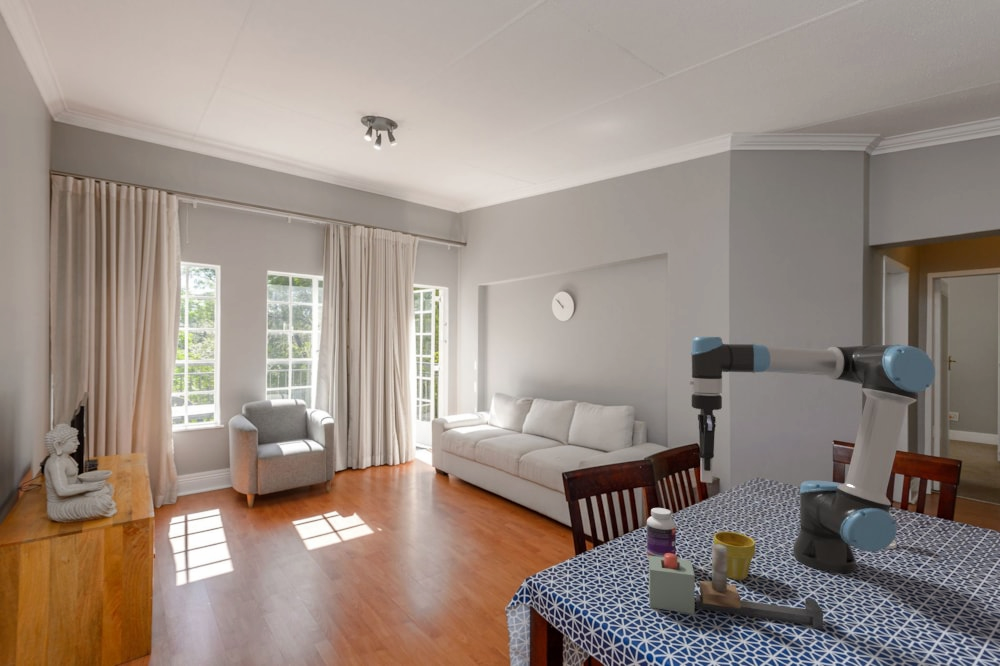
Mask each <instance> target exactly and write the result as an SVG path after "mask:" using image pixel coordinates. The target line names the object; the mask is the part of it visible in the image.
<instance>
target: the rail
mask: <svg viewBox="0 0 1000 666" xmlns="http://www.w3.org/2000/svg"><path fill="white" fill-rule="evenodd" d="M804 600H805V601H804V605H805V607H804V608H801V607H800V608H798V607H791V606H784V605H777V604H770V603H763V602H755V601H748V600H741V599H740V608H734V607H726V606H719V605H712V604H705V603H703V601H702V597H701V594H697V593H696V594H695V604H696V607H697V610H703V611H708V612H717V613H723V614H730V615H736V616H743V617H750V618H751V617H752V618H757V619H765V620H771V621H778V622H784V623H793V624H800V625H806V626H811V627H812V629H817V630H824V610H823V609H822V607H821V606H820V604H819V603H818V602H817V601H816V599H812V598H805V599H804Z"/></svg>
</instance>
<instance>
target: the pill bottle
mask: <svg viewBox="0 0 1000 666" xmlns="http://www.w3.org/2000/svg"><path fill="white" fill-rule="evenodd" d="M650 515H651V516H649V517H648V518H647V520H646V558H647V560H649V556H657V557H664V554H666V553H672V554H675V555H677V554H676V552H677V551H676V549H677V548H676V546H677V545H676V543H677V541H676V540H677V538H676V531H677V529H676V528H677V525H676V522H675V520H674V519H672V511H671V510H670V509H666V508H663V507H653V508H651V510H650Z"/></svg>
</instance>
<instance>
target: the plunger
mask: <svg viewBox="0 0 1000 666" xmlns="http://www.w3.org/2000/svg"><path fill="white" fill-rule="evenodd" d="M677 559H678V555H677V554H676V555H675V554H672V553H666V554H664V568H667V569H675V570H677Z"/></svg>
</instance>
